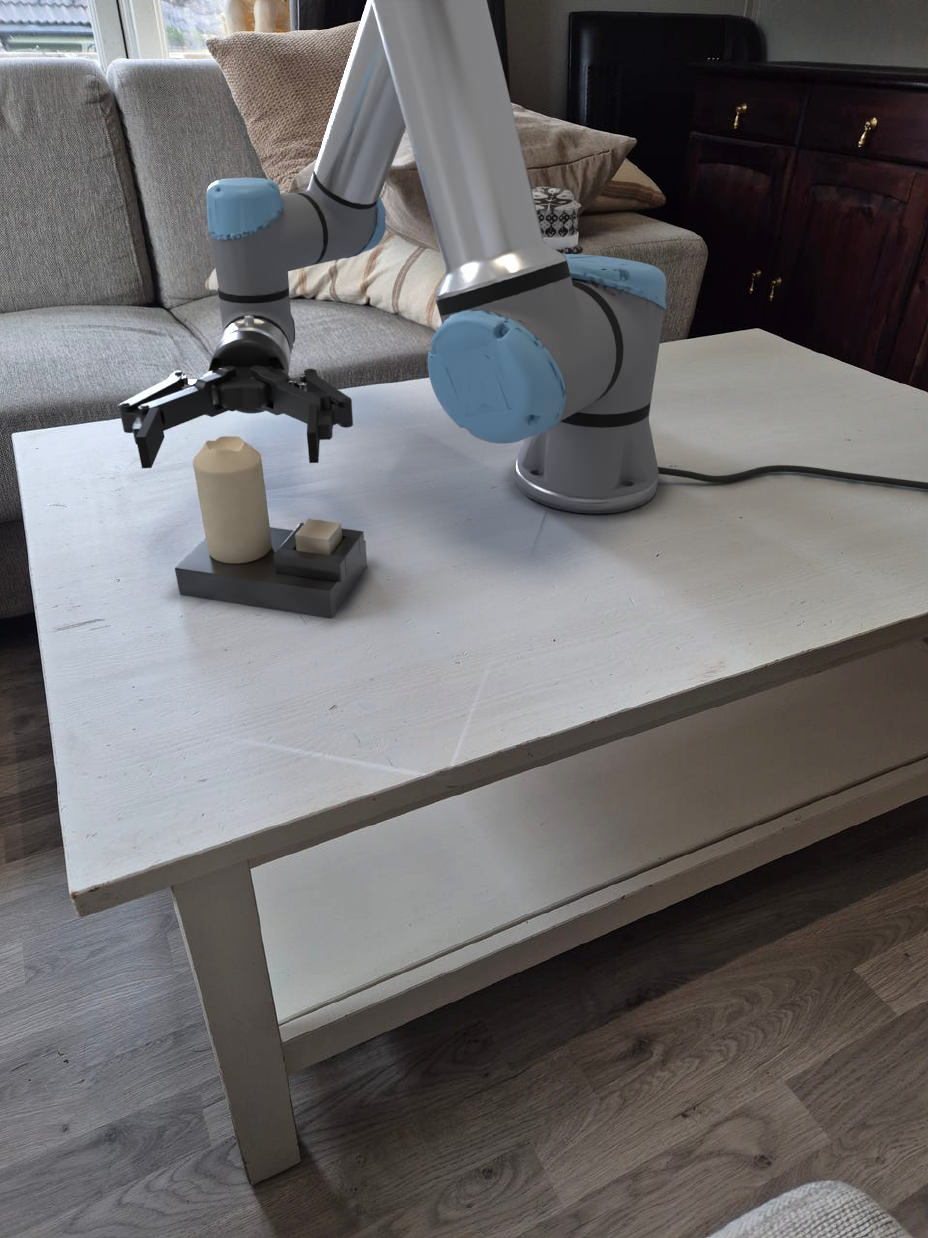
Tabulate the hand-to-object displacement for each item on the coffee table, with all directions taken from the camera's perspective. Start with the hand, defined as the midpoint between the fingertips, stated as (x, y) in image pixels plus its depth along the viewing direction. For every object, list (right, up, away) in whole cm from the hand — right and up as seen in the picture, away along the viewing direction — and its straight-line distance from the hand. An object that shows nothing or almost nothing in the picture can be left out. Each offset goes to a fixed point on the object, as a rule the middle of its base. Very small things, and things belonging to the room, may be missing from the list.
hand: (228, 450), depth 73 cm
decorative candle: (+29, +16, +46) cm, 57 cm away
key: (+7, -8, +3) cm, 11 cm away
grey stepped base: (+3, -10, +6) cm, 12 cm away
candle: (0, -8, +5) cm, 10 cm away
